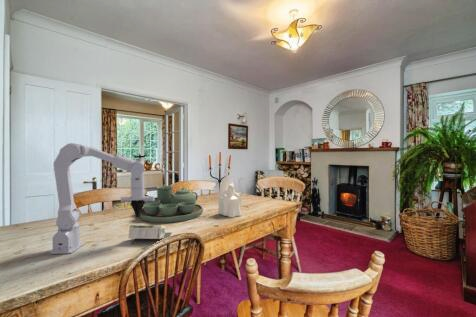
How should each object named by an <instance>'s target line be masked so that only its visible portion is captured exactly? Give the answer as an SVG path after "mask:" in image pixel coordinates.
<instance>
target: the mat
mask: <svg viewBox="0 0 476 317" xmlns="http://www.w3.org/2000/svg"><path fill="white" fill-rule="evenodd" d="M171 235H172V232H165V235H164V238H167V237H169V238H170V236H171ZM164 238H162V239H164ZM162 239H133V240H132V241H131V242H130V243H131V244H132V245H134V244H135V245H136V244H156V243H155V242H157V241H160V240H162Z"/></svg>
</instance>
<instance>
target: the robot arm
mask: <svg viewBox="0 0 476 317" xmlns="http://www.w3.org/2000/svg"><path fill="white" fill-rule="evenodd" d="M83 157H84V158H85V157H93V158H97V159H99V160H102V161H105V162H106V161H107V162H109V163H111V165H112V166H113V167H115V168H117V169H120V170H123V171H126V172H130V174H131V175H130V176H131V177H130V196H122V197H120V202H121V203H125V202H131V203H130V206H131V208H132V209H133V212H134V214H135V215H134V216H135V218H140V216H141V211H142V209H143V208H144V207H143V205H144V203H145V201H154V200H155V199H156V198H155V196H154V195H153V196H151V195H150V196H149V195H148V196H147V195H145V177H144V176H145V173H144V171H145V165H144V164H143V163H142V162H140V161H139V160H136V158H129V157H127V156H125V154H117V155H113V154H110V153H108V152H105V151H103V150H100V149H98V148H95V147H92V146H88V145H83V144H81V143H73V142H71V143H66V144H65V145H64V146H63V147H61V148H60V149H59V152H58V154H57V156H56V158H55V159H54V161H53V171H54V179H55V185H56V191H57V199H58V204H59V205H58V210H57V218H56V222H55V223H56V226H57V231H56V233H55V234H54V235H53V236H52V240H51V241H52V251H51V252H50V254H51V255H57V254H58V255H59V254H60V255H61V254H62V255H63V254H72V253H74V252H75V251H77V250H78V249H80V248H81V247H82V246H84V245H85V242H81V239H80V238H81V237H80V234H81V233H80V231H81V230H80V224H79V220H80V219H81V212H80V211H79V210H78V208H77V205H76V203H75V198H74V193H73V192H74V191H73V185H72V183H73V182H72V176H71V169H70V168H71V166H72V165H73V164H74V163H75V162H76V161H78V160H80V159H82V158H83Z"/></svg>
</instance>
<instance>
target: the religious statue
mask: <svg viewBox="0 0 476 317" xmlns="http://www.w3.org/2000/svg"><path fill="white" fill-rule="evenodd" d="M225 168H226V169H225V170H223V171H224V172H223V173H224V174H225V177H223V178H222V181H221V182H219V189H218V190H219V191H218V200H217V201H218V203H217V204H218V208H217V209H218V212H217V213H218V214H219V215H221V216H224V217H228V218H235V217H241V216H243V212H242V210H243V209H242V192H241V180H243V181H247V182H250V180H249V179H248V178H246V177H242V176H239V177H238V190H239V191H238V192H236V190H235V185H234V182H233V181H232V179H231V177H230V176H229V174H230V173H231V170H230V169H229V167H225ZM250 183H251V182H250Z"/></svg>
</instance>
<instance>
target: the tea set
mask: <svg viewBox="0 0 476 317" xmlns="http://www.w3.org/2000/svg"><path fill="white" fill-rule="evenodd" d="M173 187H174V186H173V185H158V186H156V192H157V193H156V196H157V199H156V198H155V200H154V201H145V203H144V205H143V208H142V211H141V216H140V217H139V218H140V219H141V221H143V222H144V221H145V222H149V223H155V224H156V223H158V224H159V223H166V224H169V223H177V222H178V223H179V222H183V221H188V220H189V221H190V220H192V219H195V218H198V217H199V216H201V215H202V214H203V212H204V207H203V206H201V205H200V204H198V203H197V201H198V193H197V192H196V191H192V192H191V190H190V189H188V188H184V187H183V188H180V189H179V188H178V189H177V190H175V192H173V190H174V189H173Z"/></svg>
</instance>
